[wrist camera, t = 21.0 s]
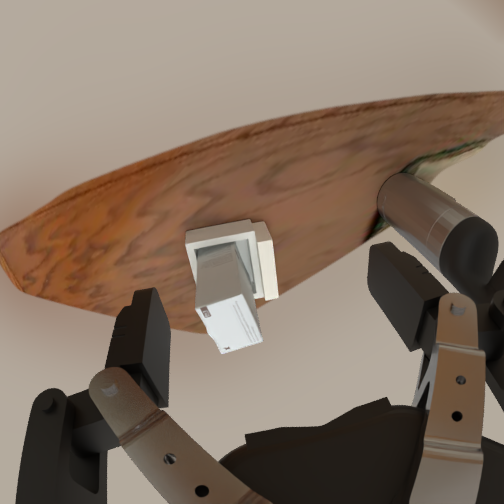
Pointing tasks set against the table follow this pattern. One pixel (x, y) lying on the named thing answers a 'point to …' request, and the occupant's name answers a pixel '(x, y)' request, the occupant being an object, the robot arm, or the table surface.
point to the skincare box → (226, 298)
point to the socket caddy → (227, 233)
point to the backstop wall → (266, 260)
